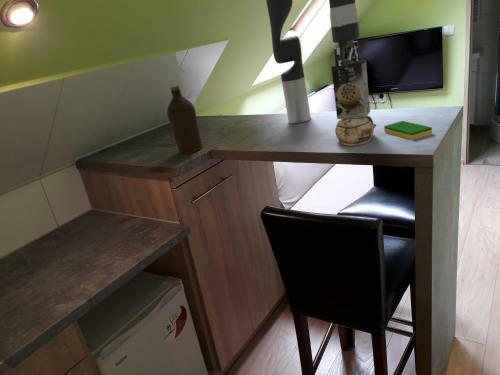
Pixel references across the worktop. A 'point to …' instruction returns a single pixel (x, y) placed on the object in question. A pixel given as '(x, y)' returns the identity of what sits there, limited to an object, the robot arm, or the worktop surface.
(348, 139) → the trinket box
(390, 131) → the dish sponge
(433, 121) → the worktop surface
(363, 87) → the coffee box
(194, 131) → the olive oil
